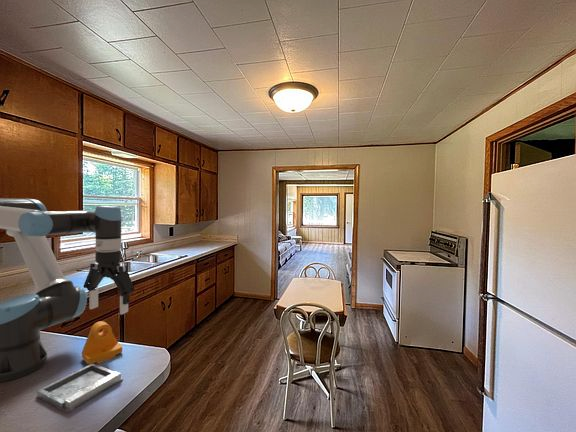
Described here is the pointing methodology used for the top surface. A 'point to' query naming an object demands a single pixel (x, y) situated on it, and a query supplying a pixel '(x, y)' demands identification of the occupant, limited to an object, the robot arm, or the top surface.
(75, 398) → the tray
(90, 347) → the bracket
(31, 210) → the robot arm
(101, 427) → the top surface
